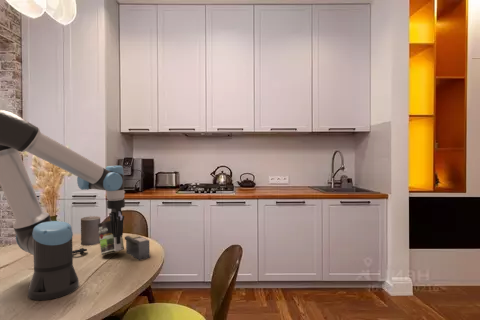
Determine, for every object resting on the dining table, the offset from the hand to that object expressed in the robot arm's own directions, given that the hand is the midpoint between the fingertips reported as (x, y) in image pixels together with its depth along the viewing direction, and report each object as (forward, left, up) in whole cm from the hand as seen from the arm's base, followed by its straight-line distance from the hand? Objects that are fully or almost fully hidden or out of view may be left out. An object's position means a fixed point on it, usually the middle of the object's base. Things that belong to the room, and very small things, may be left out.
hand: (117, 250), depth 138 cm
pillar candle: (-2, +36, -4) cm, 36 cm away
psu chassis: (+8, -2, -4) cm, 9 cm away
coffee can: (0, +5, -2) cm, 6 cm away
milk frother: (-16, +22, -4) cm, 28 cm away
